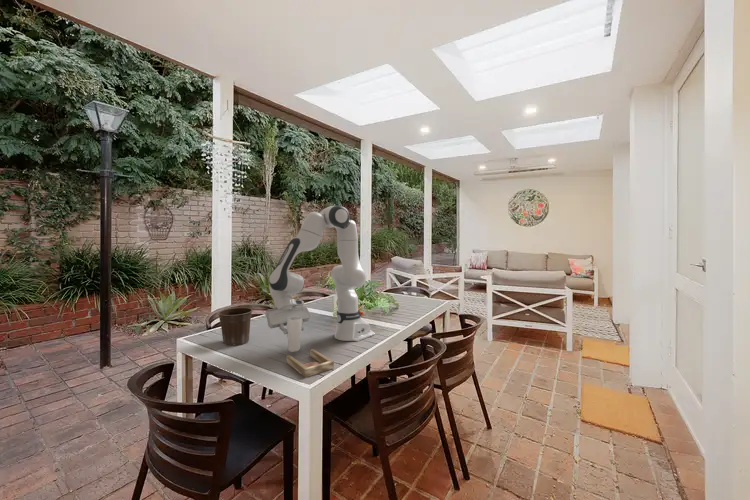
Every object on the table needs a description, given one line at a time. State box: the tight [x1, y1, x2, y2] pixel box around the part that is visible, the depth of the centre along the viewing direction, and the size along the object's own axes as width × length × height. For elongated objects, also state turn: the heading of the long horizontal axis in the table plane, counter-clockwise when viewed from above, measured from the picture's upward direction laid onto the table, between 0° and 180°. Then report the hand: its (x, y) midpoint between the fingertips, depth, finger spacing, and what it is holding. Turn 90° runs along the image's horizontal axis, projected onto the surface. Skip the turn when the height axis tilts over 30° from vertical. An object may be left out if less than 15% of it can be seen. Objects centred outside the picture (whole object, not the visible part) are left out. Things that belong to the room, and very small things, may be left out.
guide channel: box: [286, 348, 335, 378], centre depth 134 cm, size 13×18×3 cm
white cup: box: [286, 316, 302, 353], centre depth 145 cm, size 7×7×15 cm
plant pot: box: [217, 307, 253, 347], centre depth 161 cm, size 16×16×16 cm
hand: (294, 331), depth 145 cm, fingers closed on white cup, 6 cm apart
